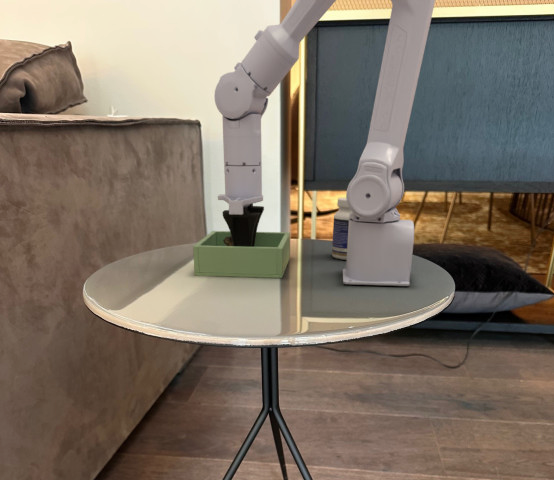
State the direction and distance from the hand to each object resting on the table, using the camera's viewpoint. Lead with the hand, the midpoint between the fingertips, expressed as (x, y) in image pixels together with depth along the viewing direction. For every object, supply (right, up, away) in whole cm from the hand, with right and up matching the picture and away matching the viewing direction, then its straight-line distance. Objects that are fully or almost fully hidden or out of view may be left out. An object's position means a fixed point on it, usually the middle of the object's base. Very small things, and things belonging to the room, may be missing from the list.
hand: (244, 254), depth 85 cm
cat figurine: (0, -2, +1) cm, 2 cm away
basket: (0, -2, +1) cm, 2 cm away
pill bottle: (+18, +1, +7) cm, 19 cm away
